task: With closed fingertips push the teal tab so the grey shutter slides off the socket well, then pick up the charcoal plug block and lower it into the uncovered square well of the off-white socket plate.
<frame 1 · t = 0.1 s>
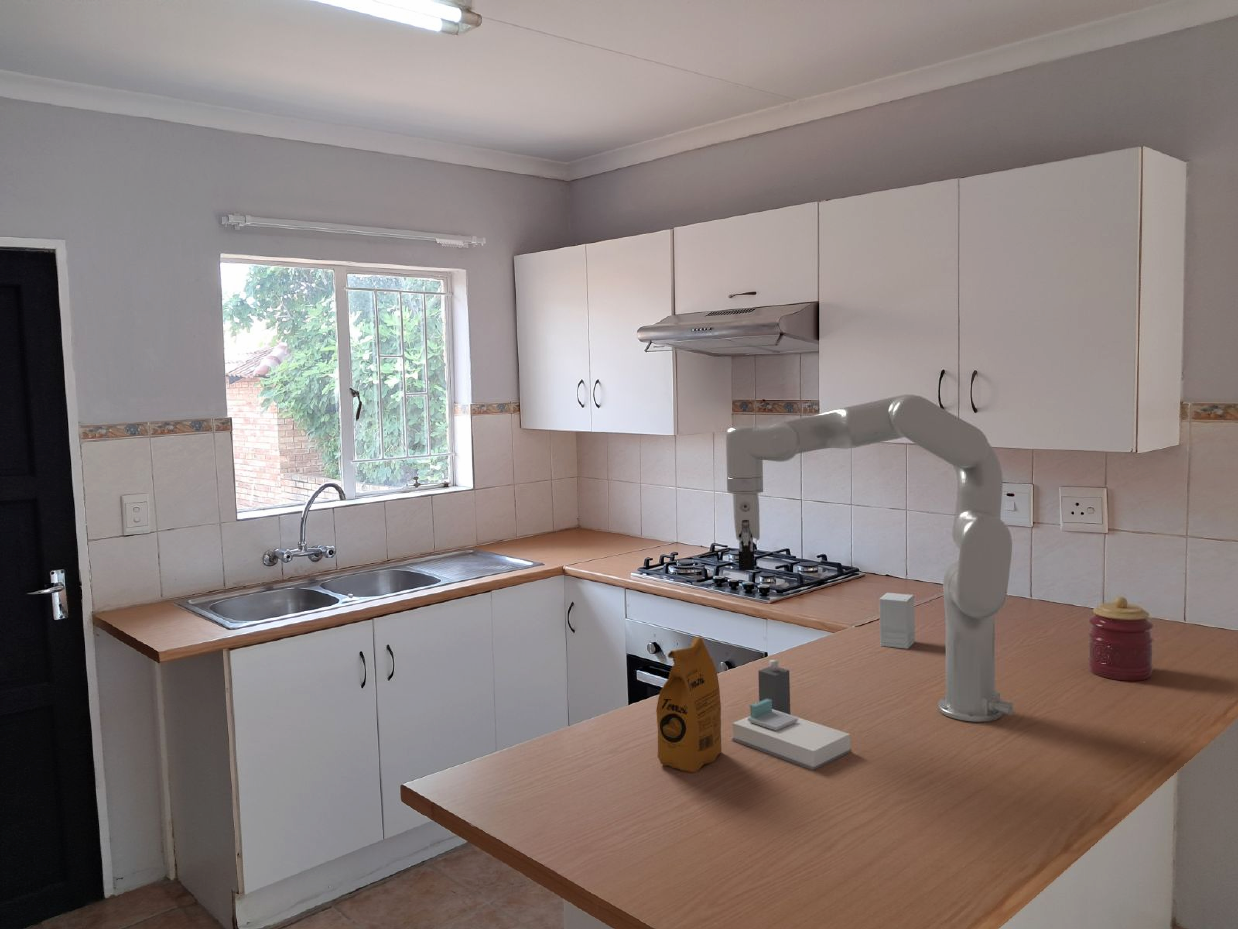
hand: (746, 565, 195), 31 cm above the table, tool pointing down, fingers open, 9 cm apart
shutter: (772, 713, 179), point 5 cm above the table, slide at 0.0 cm
plug: (774, 717, 191), on the table
canister: (1119, 673, 210), on the table
supplement box: (897, 644, 238), on the table
socket: (773, 740, 180), on the table
coffee package: (690, 759, 173), on the table
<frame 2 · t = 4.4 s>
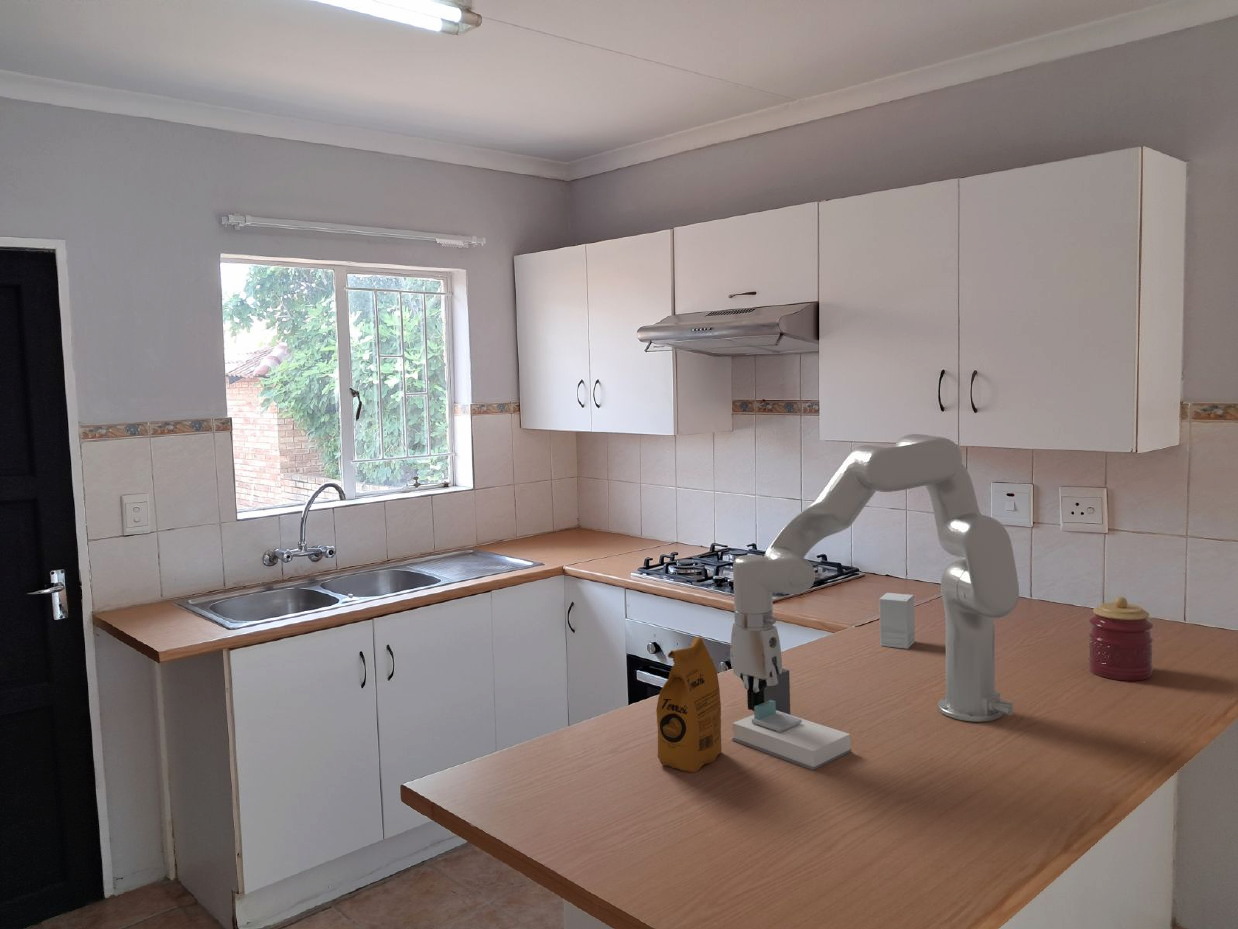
hand: (756, 708, 182), 5 cm above the table, tool pointing down, fingers closed
shutter: (776, 715, 178), point 5 cm above the table, slide at 1.0 cm, touching gripper
everything else where it was.
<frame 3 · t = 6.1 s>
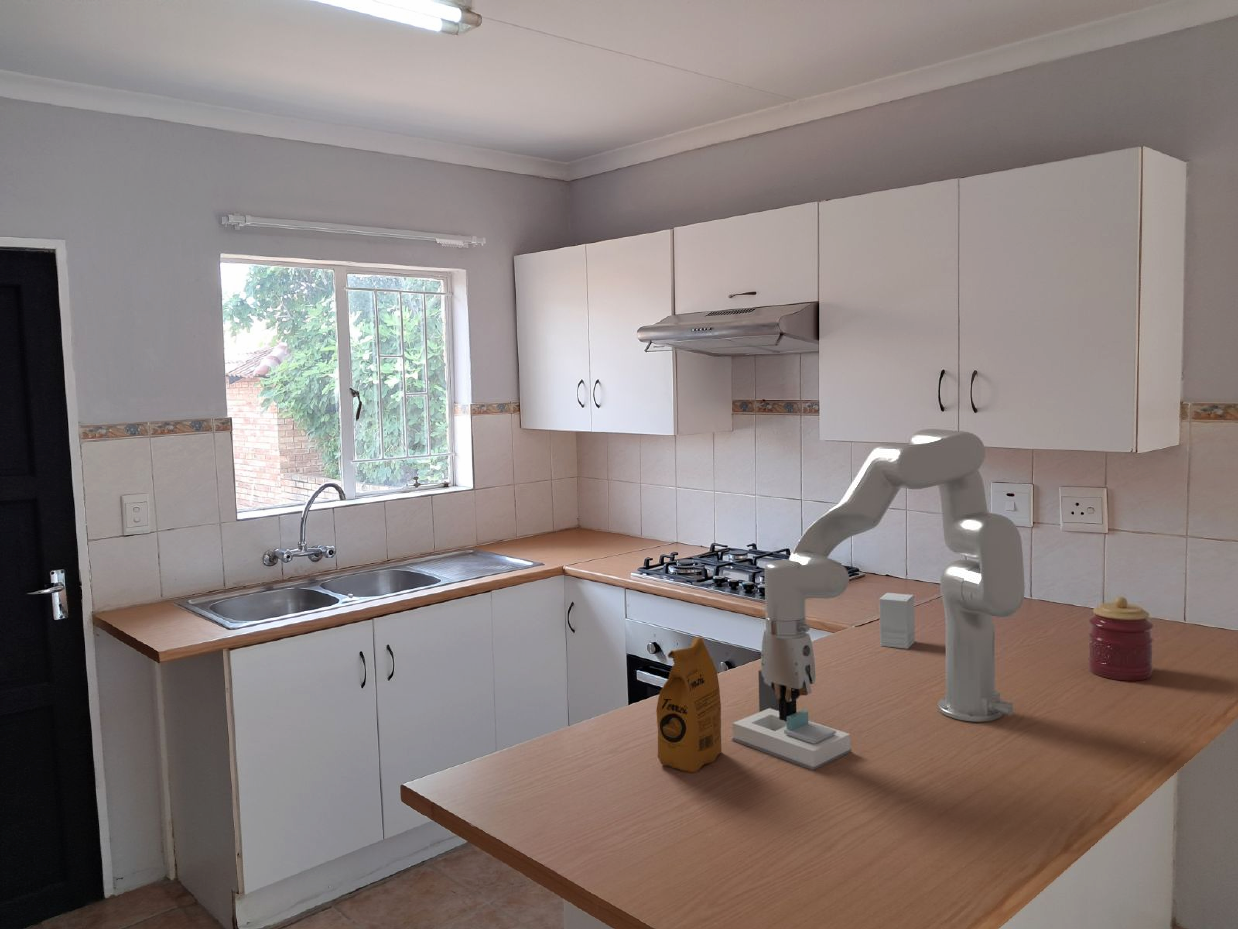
hand: (787, 718, 176), 5 cm above the table, tool pointing down, fingers closed
shutter: (809, 725, 172), point 5 cm above the table, slide at 9.0 cm, touching gripper
everything else where it was.
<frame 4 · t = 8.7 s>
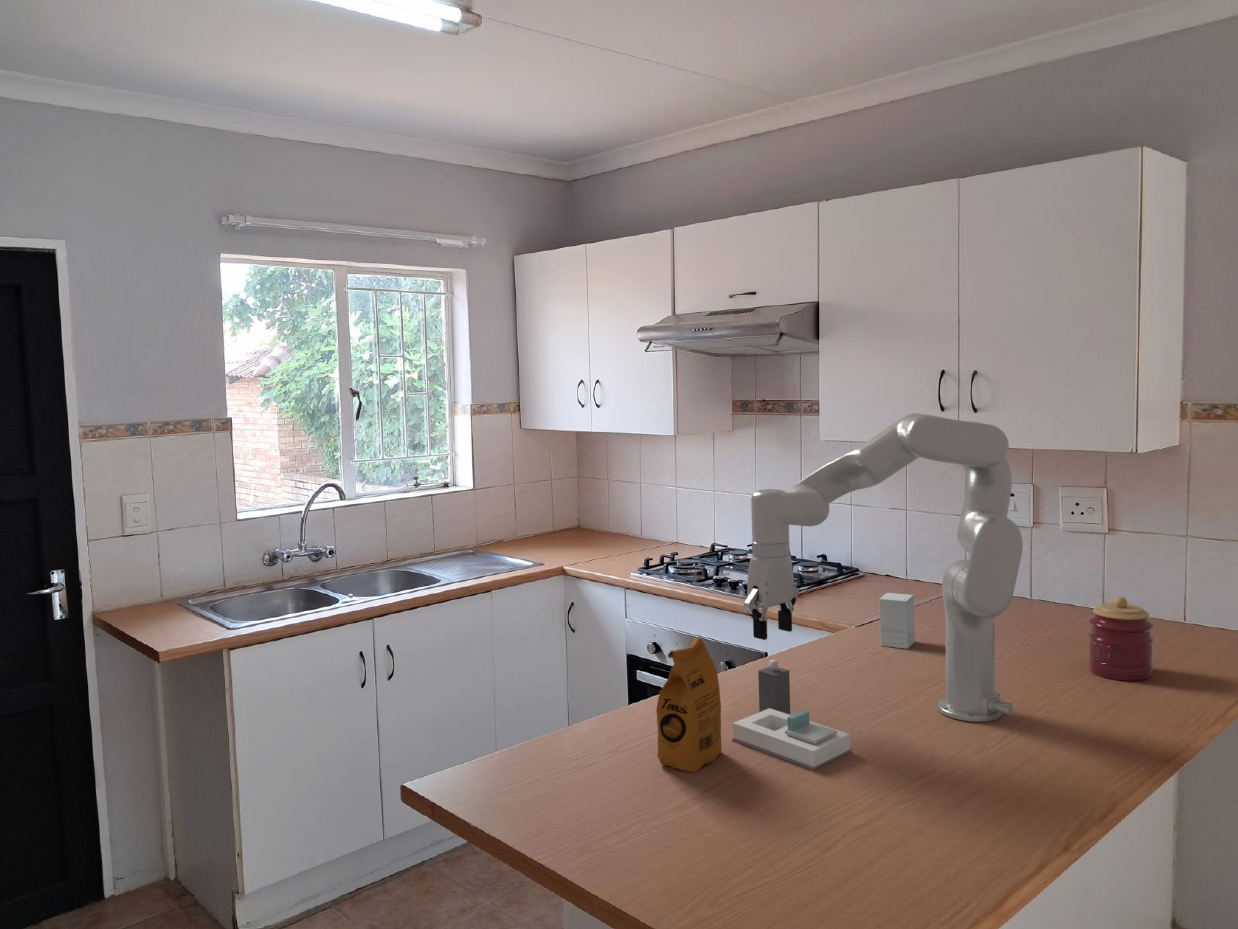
hand: (772, 633, 190), 18 cm above the table, tool pointing down, fingers open, 7 cm apart
shutter: (810, 726, 172), point 5 cm above the table, slide at 9.2 cm
everything else where it was.
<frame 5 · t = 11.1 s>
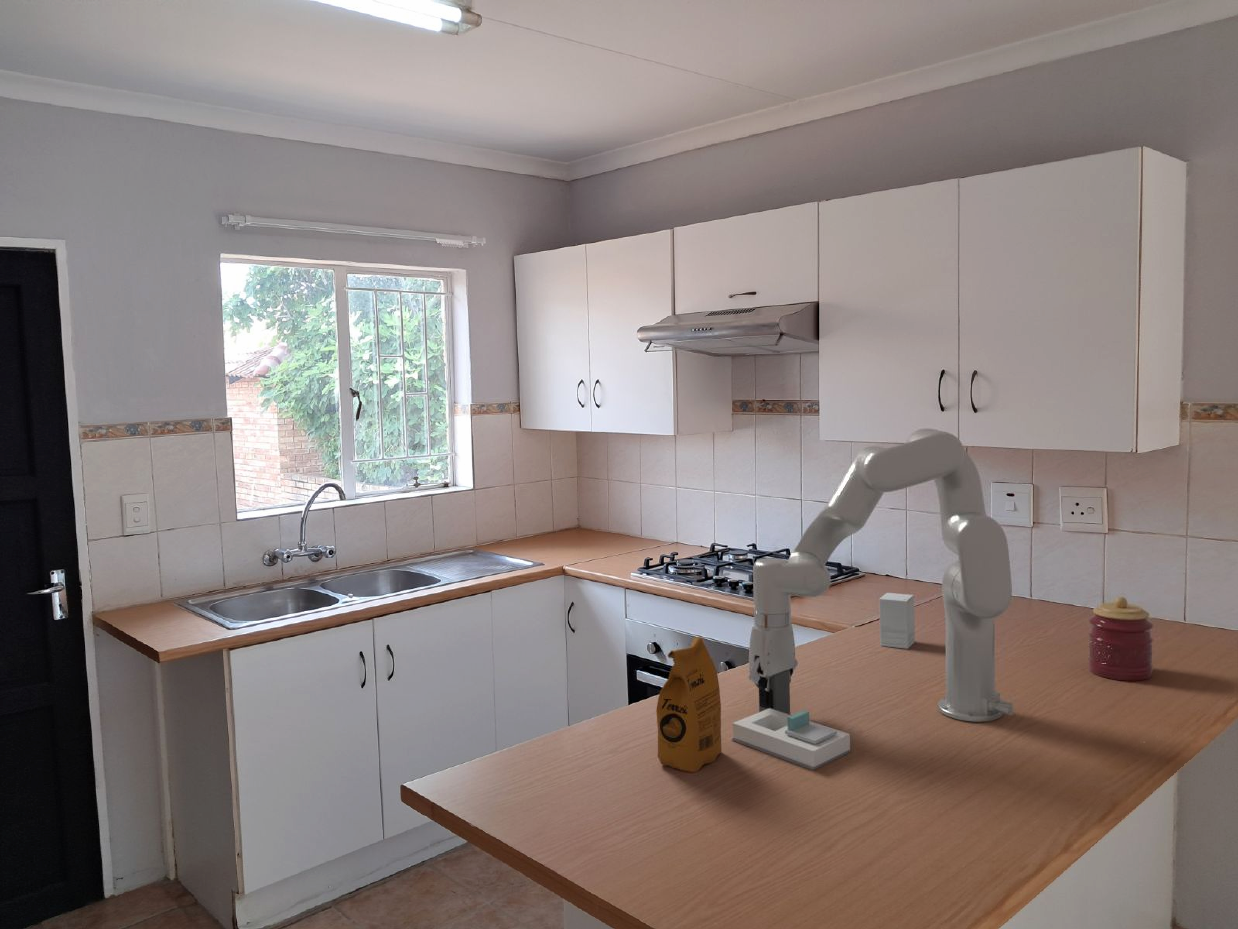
hand: (774, 703, 191), 3 cm above the table, tool pointing down, fingers closed on plug, 4 cm apart
plug: (774, 717, 191), on the table, touching gripper
everything else where it was.
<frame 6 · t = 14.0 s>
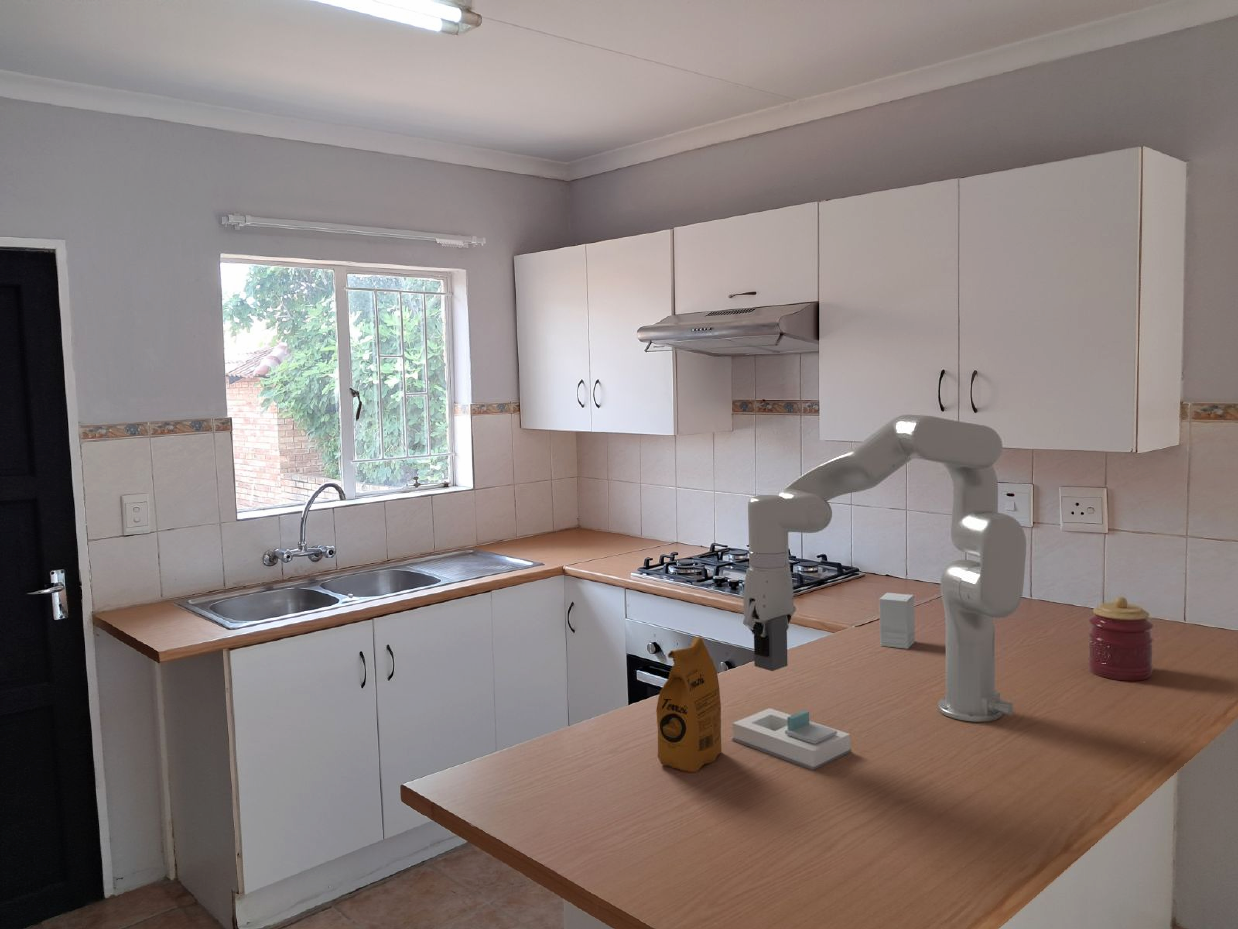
hand: (770, 651, 178), 18 cm above the table, tool pointing down, fingers closed on plug, 4 cm apart
plug: (771, 666, 178), point 15 cm above the table, touching gripper
everything else where it was.
when the fingers open (4 cm above the table, at t = 17.2 s): plug stays where it is, resting on socket.
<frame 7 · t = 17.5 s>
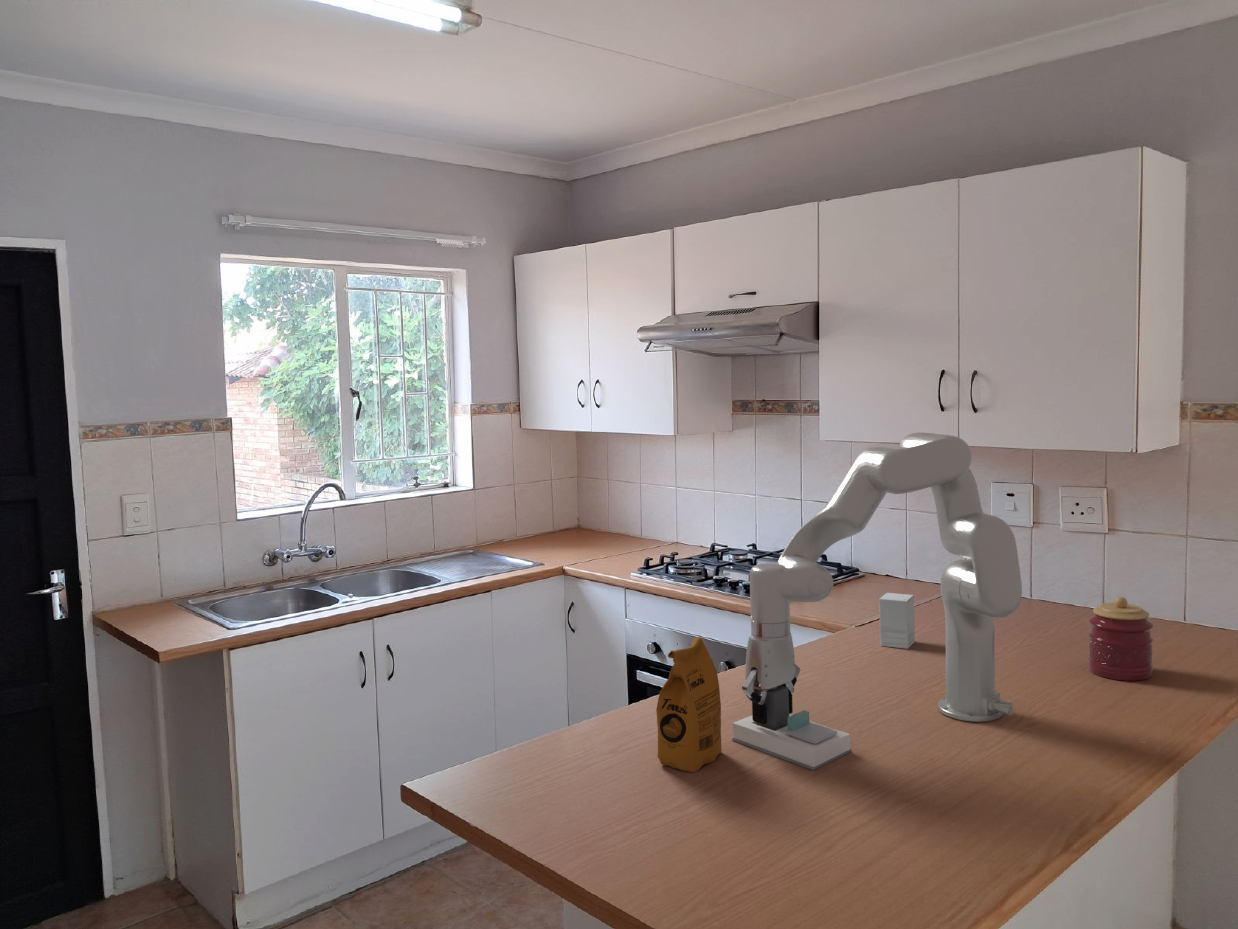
hand: (772, 716, 179), 5 cm above the table, tool pointing down, fingers open, 7 cm apart
plug: (773, 737, 180), point 1 cm above the table, touching socket
everything else where it was.
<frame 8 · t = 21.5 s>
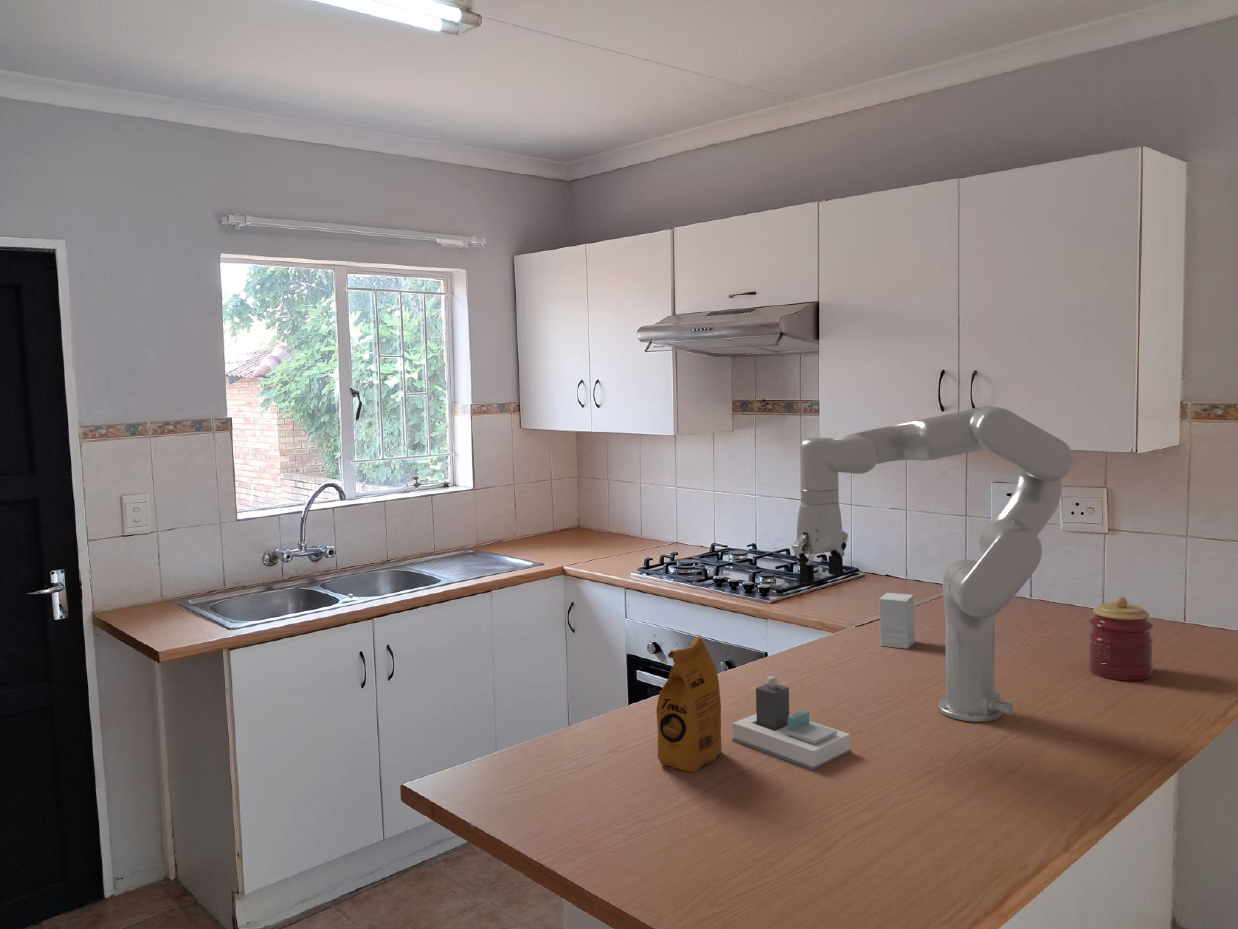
hand: (821, 579, 191), 28 cm above the table, tool pointing down, fingers open, 9 cm apart
nothing on the table moved.
at the end: plug 0.1 cm off-centre on the socket, point 0.5 cm above the socket's base; shutter slide at 9.2 cm; plug tilted 0° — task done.
